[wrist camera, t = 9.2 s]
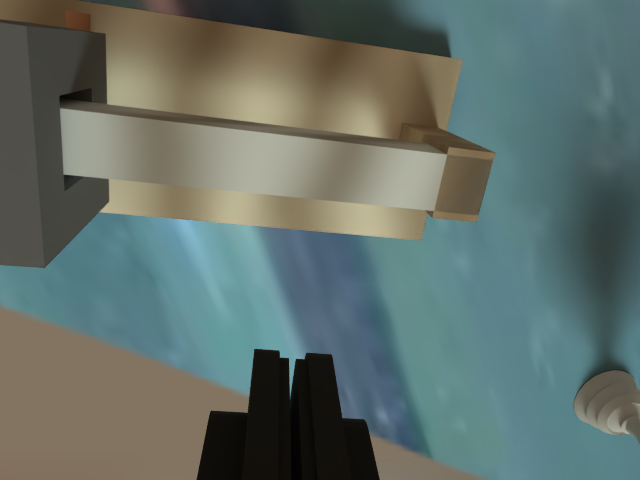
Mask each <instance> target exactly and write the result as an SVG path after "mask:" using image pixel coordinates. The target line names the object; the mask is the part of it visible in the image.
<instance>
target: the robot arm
mask: <svg viewBox="0 0 640 480" xmlns="http://www.w3.org/2000/svg"><path fill="white" fill-rule="evenodd" d="M197 480H380V479H379V475H378V470H377V466H376V461H375V457H374V452H373V448H372V444H371V439H370V435H369V430H368V426H367V423H366V421H365V420H364V419H347V418H342V413H341V407H340V401H339V395H338V389H337V382H336V376H335V370H334V364H333V358H332V355H331V354H317V353H306V356H305V359H296V362H295V369H294V376H293V383H292V390H291V397H290V386H289V358H280V352H279V351H276V350H263V349H254V358H253V368H252V377H251V387H250V396H249V406H248V413H241V412H224V411H211V412H210V415H209V420H208V425H207V430H206V435H205V441H204V445H203V450H202V455H201V461H200V465H199V471H198V476H197Z"/></svg>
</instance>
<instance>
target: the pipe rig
mask: <svg viewBox="0 0 640 480" xmlns="http://www.w3.org/2000/svg"><path fill="white" fill-rule="evenodd" d="M0 19H1V20H10V21H20V22H29V23H36V24H43V25H50V26H57V27H64V28H70V29H77V30H84V31H91V32H98V33H105V34H106V71H107V104H101V103H93V102H85V101H77V100H69V99H60V98H59V102H60V119H61V137H62V155H63V173H64V175H74V176H84V177H95V178H105V179H109V203H108V204H107V205H106V206H105V207H104V208H103V209H102V210H101V211H100V212H105V213H117V214H128V215H139V216H151V217H162V218H173V219H185V220H196V221H207V222H218V223H230V224H241V225H252V226H264V227H275V228H286V229H298V230H309V231H320V232H332V233H343V234H354V235H366V236H377V237H388V238H400V239H411V240H422V235H423V231H424V227H425V222H426V218H427V213H428V214H429V215H430V216H431V217H432V218H439V219H449V220H460V221H470V222H477V218H478V215H479V211H480V207H481V204H482V200H483V196H484V193H485V189H486V185H487V181H488V178H489V174H490V170H491V167H492V163H493V159H494V156H495V153H494V152H492V151H490V150H488V149H485V148H483V147H481V146H479V145H476V144H474V143H472V142H470V141H467V140H465V139H463V138H461V137H458V136H456V135H454V134H452V133H449V132H447V126H448V122H449V118H450V113H451V109H452V104H453V100H454V96H455V91H456V87H457V83H458V78H459V74H460V70H461V65H462V61H463V60H462V59H455V58H449V57H442V56H436V55H429V54H423V53H416V52H410V51H403V50H397V49H391V48H384V47H378V46H371V45H365V44H358V43H352V42H345V41H339V40H332V39H326V38H319V37H313V36H306V35H300V34H293V33H287V32H280V31H274V30H267V29H261V28H254V27H248V26H241V25H235V24H228V23H222V22H215V21H209V20H202V19H196V18H189V17H183V16H177V15H170V14H164V13H157V12H151V11H144V10H138V9H131V8H125V7H118V6H112V5H105V4H99V3H92V2H86V1H79V0H0Z"/></svg>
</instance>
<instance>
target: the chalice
mask: <svg viewBox="0 0 640 480" xmlns="http://www.w3.org/2000/svg"><path fill="white" fill-rule="evenodd" d="M574 410H575V413H576V416H577V417H578V418H579V419H580V420H581V421H584V422H586V423H589V424H591V425H592V426H594V427H596V428H598V429H601V430H602V431H603V432H606V433H608V434H617V435H623V434H631V435H632V436H634V437H635V438H637V440H638V442H639V443H640V391H639V389H638V388H637V386H636V382H635V379H634V378H633V377H632V376H631V375H630V374H628V373H626V372H624V371H616V370H613V371H607V372H603V373H601V374H599V375H597V376H594V377H593V378H592V379H590V380H589V381H588V382H586V383H585V384H584V385H583V387H582V388H581V389H580V390H579V391H578V394H577V396H576V398H575V401H574Z"/></svg>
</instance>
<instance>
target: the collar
mask: <svg viewBox="0 0 640 480" xmlns="http://www.w3.org/2000/svg"><path fill="white" fill-rule="evenodd" d="M59 98H60V99H69V100H77V101H85V102H93V103H101V104H107V71H106V34H105V33H98V32H91V31H84V30H77V29H70V28H64V27H57V26H50V25H43V24H36V23H29V22H20V21H10V20H1V19H0V265H10V266H24V267H39V268H45V267H46V266H47V265H48V264H49V263H50V262H51V261H52V260H53V259H54V258H55V257H56V256H57V255H58V254H59V253H60V252H61V251H62V250H63V249H64V248H65V247H66V246H67V245H68V244H69V242H70V241H71V240H72V239H73V238H74V237H75V236H76V235H77V234H78V233H79V232H80V231H81V230H82V229H83V228H84V227H85V226H86V225H87V224H88V223H89V222H90V221H91V220H92V219H93V218H94V217H95V216H96V215H97V214H98V213H99V212H100V211H101V210H102V209H103V208H104V207H105V206H106V205H107V204H108V203H109V179H105V178H95V177H84V176H74V175H64V173H63V155H62V137H61V119H60V102H59Z"/></svg>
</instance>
